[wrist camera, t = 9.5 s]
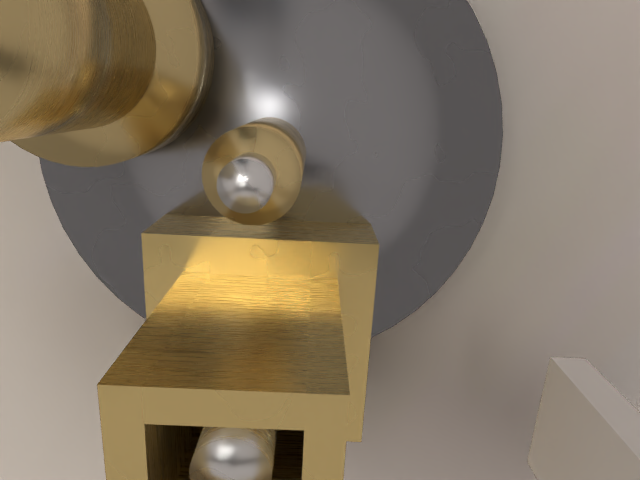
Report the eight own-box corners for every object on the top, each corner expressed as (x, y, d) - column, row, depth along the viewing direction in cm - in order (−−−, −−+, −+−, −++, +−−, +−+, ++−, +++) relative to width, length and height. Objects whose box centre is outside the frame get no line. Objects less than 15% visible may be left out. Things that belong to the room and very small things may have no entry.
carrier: (15, -111, 13) (-618, -538, 4) (517, -80, 13) (910, -420, 4) (64, 326, 17) (-212, 581, 8) (454, 344, 17) (600, 608, 8)
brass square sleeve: (165, 214, 14) (25, 324, 7) (370, 224, 14) (419, 342, 7) (173, 392, 16) (65, 614, 9) (356, 399, 16) (384, 624, 9)
